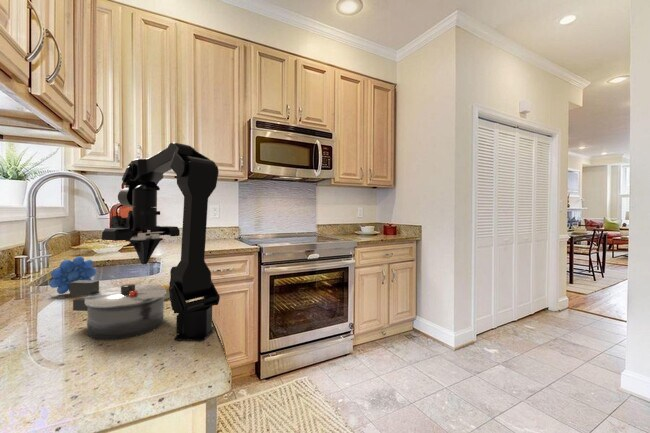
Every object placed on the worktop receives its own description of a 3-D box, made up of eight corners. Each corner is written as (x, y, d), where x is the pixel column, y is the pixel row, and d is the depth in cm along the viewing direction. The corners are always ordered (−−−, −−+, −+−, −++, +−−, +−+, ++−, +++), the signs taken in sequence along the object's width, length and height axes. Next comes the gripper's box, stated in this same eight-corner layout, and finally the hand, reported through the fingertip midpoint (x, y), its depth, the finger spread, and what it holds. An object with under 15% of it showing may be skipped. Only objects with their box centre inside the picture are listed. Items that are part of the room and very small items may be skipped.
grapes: (95, 287, 104) (96, 254, 103) (96, 292, 98) (96, 256, 98) (50, 293, 96) (51, 256, 96) (48, 298, 91) (49, 259, 91)
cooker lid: (178, 289, 78) (178, 276, 78) (139, 309, 62) (139, 292, 62) (100, 287, 78) (100, 274, 78) (41, 306, 62) (41, 290, 62)
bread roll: (158, 293, 99) (158, 281, 99) (179, 295, 97) (179, 283, 97) (136, 299, 91) (136, 287, 91) (158, 302, 89) (159, 289, 89)
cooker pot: (175, 316, 77) (175, 291, 77) (137, 341, 62) (138, 309, 62) (102, 314, 78) (103, 289, 78) (48, 338, 63) (48, 307, 63)
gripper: (154, 207, 92) (153, 257, 92) (87, 205, 74) (87, 267, 75) (181, 208, 88) (180, 260, 88) (117, 206, 70) (116, 271, 70)
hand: (144, 264), depth 80 cm, fingers closed
